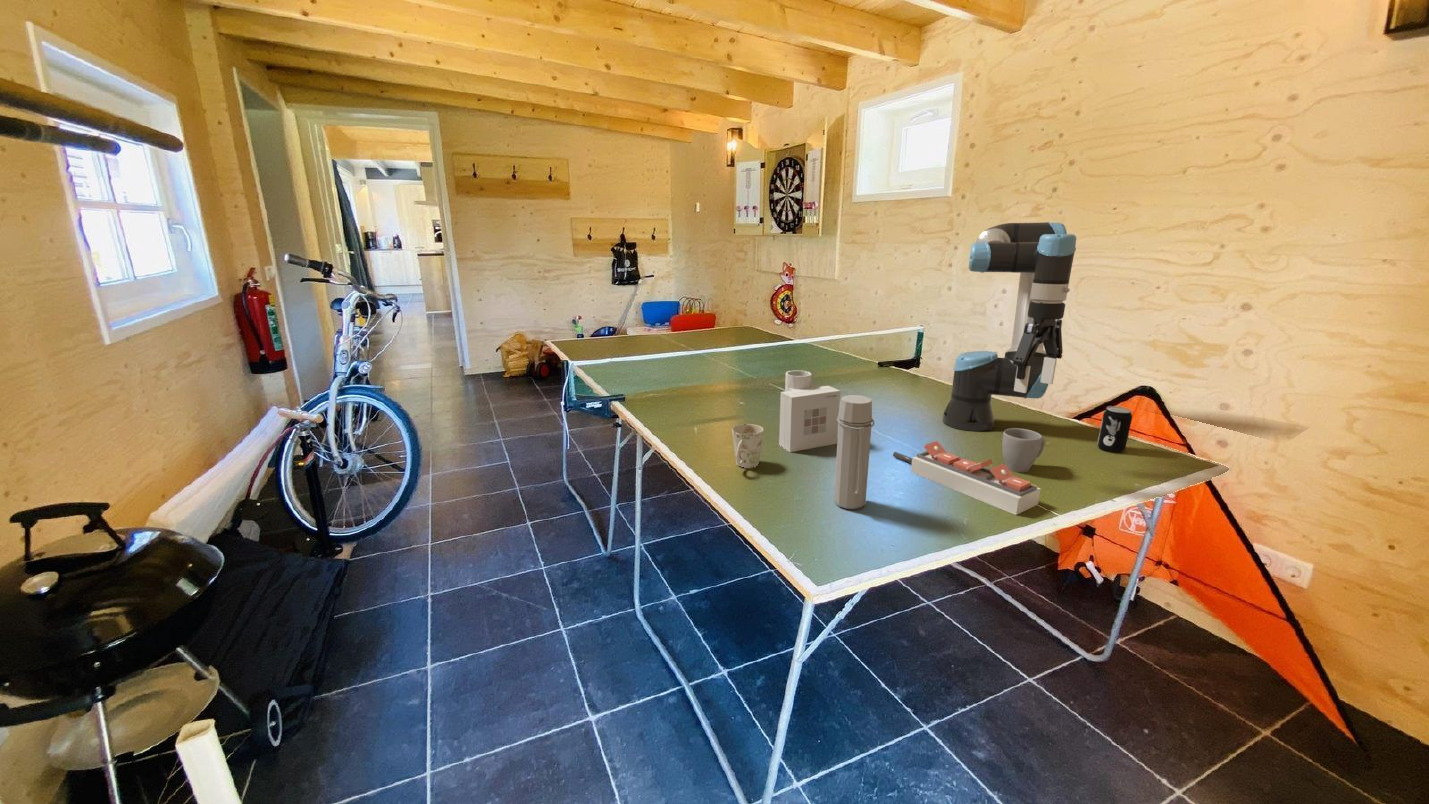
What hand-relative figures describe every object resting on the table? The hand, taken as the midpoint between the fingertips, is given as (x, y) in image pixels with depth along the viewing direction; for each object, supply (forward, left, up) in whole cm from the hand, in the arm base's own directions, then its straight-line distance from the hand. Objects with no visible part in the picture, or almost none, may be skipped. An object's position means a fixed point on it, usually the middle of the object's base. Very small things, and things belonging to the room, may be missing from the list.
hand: (1033, 387), depth 140 cm
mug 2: (0, +2, -22) cm, 22 cm away
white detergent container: (-50, -32, -22) cm, 64 cm away
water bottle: (-10, -51, -22) cm, 57 cm away
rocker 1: (-10, -20, -17) cm, 28 cm away
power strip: (-5, -20, -22) cm, 31 cm away
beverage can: (+7, +35, -22) cm, 42 cm away
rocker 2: (+8, -20, -17) cm, 28 cm away
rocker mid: (-1, -20, -17) cm, 27 cm away
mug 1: (-41, -58, -22) cm, 75 cm away
